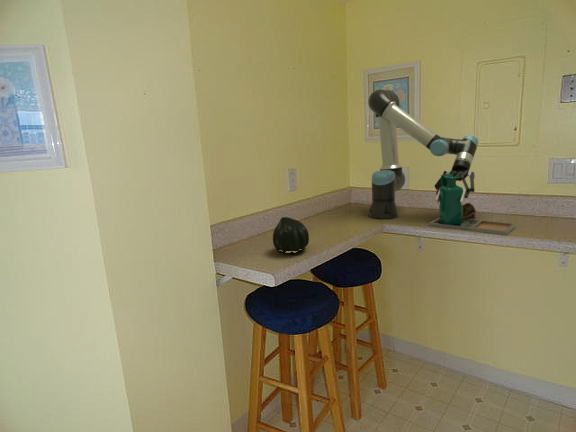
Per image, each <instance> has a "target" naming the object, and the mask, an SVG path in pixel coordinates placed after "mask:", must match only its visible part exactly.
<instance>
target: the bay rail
mask: <svg viewBox="0 0 576 432" xmlns="http://www.w3.org/2000/svg"><path fill="white" fill-rule="evenodd" d="M470 224H473V225H471V226H468V225H470ZM435 226H436V228H444V229H454V230H460V231H470V232H478V233H479V232H480V233H487V234H493V235H494V234H495V235H502V236H503V235H504V236H507V235H508V234H510V232H512V230H514V229H515V228H516V223H513V222H512V223H511V222H503V221H495V220H484V219H483V220H482V219H474V218H462V223H461V224H455V225H449V224H443V223H441V222H440V221H439V217H437V218H435V219H434V220H432V221H430V222H428V227H435Z"/></svg>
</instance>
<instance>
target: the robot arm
mask: <svg viewBox="0 0 576 432" xmlns="http://www.w3.org/2000/svg"><path fill="white" fill-rule="evenodd" d="M367 103H368V107H369V109H370V110H371V111H372V112H373V113H374V114H375V119H376V120H378V126H379V139H380V150H381V160H382V161H381V162H382V165H381V167H380V168H379V170H377V171H375V172H373V173H372V175H371V204H370V207H369V210H368V217H369V216H370V218H371V217H374V218H373V219H376V218H380V220H389V219H395V218H397V217H399V210H398V207H397V204H396V192H399V191H400V190H401V189H402V188H403V187H404V186H405V183H406V175H405V173H404V172H403V167H402V165H401V164H400V162H399V151H398V137H397V136H398V135H397V128H399V129H400V130H402V131H404V132H405V133H406V134H407V135H409V136H410V137H412V138H413V139H414V140H416V141H417V142H418V143H420V144H421V145H422V146H424V147H425V148H427V150H429V151H430V153H431V154H432V155H433V156H435V157H443V156H445V155H456V156H455V159H454V161H453V164H452V167H451V170H450V171H447V170H444V171H443V172H442V175H446V174H453V176H458V178H456V182H457V181H458V182H462V183H463V186H464V189H463V194H462V197H461V200H460V202H461V205H464V204H465V200H466V199H468V198H469V195H470V193H475V180H474V179H475V177H476V175H475V172H474V171H471V172H470V169H471V166H472V163H473V160H474V156H475V154H476V152H477V149H478V145H479V140H478V138H477V137H476V136H474V135H470V134H468V135H465V136H463V137H462V139H456V138H450V137H443V136H442V137H441V136H440V135H438V134H437V133H436V132H435V131H433V130H432V129H430V128H428V127H427V126H426V125H424V124H423V123H422V122H421V121H419V120H418V119H416V118H415V117H414V116H412V115H411V114H409V113H408V112H407V111H405V110H404V109H402V108H401V107H400V103H401V101H400V98H399V95H398V94H397V93H396V92H395V91H393V90H390V89H380V88H379V89H376V90H374V91H372V93H371V94H370V95H369V97H368V101H367ZM467 177H468V178H469V182H470V187H469V186H468V183H467V180H466V178H467ZM441 187H442V183H441V177H440V178H439V179H438V180H437V181H436V183H435V184H434V188H435V190H436V192H435V195H436V198H435V201H436V203H438V204H440V188H441Z"/></svg>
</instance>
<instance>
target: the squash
mask: <svg viewBox="0 0 576 432" xmlns="http://www.w3.org/2000/svg"><path fill="white" fill-rule="evenodd" d="M309 241H310V235H309V231H308V229H307V227H306V226H305V225H304V223H302V221H299V220H297V219H293V218H292V217H287V216H282V217H281V218H280V220H278V223H277V225H276V226H275V228H274V230H273V233H272V244H273V247H274V248H275V250H277V251H278V250H282V251H283V252H286V251H298V250H299V249H304V250H305V248H306V247H307V246H308V244H309ZM298 252H299V251H298Z"/></svg>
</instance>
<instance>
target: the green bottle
mask: <svg viewBox="0 0 576 432" xmlns="http://www.w3.org/2000/svg"><path fill="white" fill-rule="evenodd" d="M440 178H441V183H442V187H441V188H440V201H439V203H438V204H439V208H438V210H439V213H438V214H439V215H438V218H439V223H440V224H449V225H461V224H463V222H462V212H463V205H464V204H463V205H461V202H460V200H461V197H462V194H463V191H464V188H463V187H461V186H459V185H457V181H456V178H458V176H453V174H446V175H443V174H441V175H440Z"/></svg>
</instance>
